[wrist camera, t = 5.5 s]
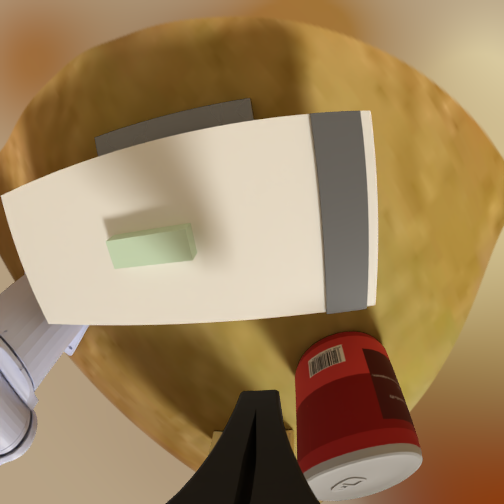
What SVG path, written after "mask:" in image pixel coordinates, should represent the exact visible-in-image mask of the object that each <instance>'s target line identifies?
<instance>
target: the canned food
mask: <svg viewBox="0 0 504 504" xmlns="http://www.w3.org/2000/svg"><path fill="white" fill-rule="evenodd" d="M295 388H296V419H297V462H298V464H299V466H300V468H301V471H302V473H303V474H304V476H305V478H306V480H307V482H308V484H309V486H310V488H311V489H312V491H313V493H314V495H315V496H316V498H317V499H318V500H322V501H340V500H348V499H355V498H360V497H364V496H367V495H371V494H374V493H377V492H380V491H382V490H385V489H388V488H390V487H392V486H394V485H396V484H398V483H400V482H401V481H403V480H405V479H406V478H408V477H409V476H410V475H411V474H413V473H414V472H415V471H416V470H417V469H418V468H419V466H420V465H421V463H422V453H421V448H420V445H419V442H418V437H417V434H416V431H415V428H414V425H413V422H412V419H411V416H410V413H409V410H408V408H407V405H406V402H405V399H404V396H403V394H402V391H401V388H400V386H399V383H398V380H397V378H396V375H395V372H394V370H393V367H392V365H391V362H390V360H389V357H388V355H387V352H386V350H385V348H384V347H383V346H382V345H381V343H380V342H379V341H377V340H376V339H375V338H374V337H372V336H371V335H368V334H365V333H362V332H342V333H337V334H334V335H331V336H328V337H326V338H324V339H322V340H320V341H318V342H317V343H315V344H314V345H312V346H311V347H310V348H309V349H308V350H307V351H306V352H305V353H304V355H303V356H302V357H301V359H300V362H299V364H298V367H297V369H296V374H295Z"/></svg>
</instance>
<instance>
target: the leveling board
mask: <svg viewBox="0 0 504 504" xmlns="http://www.w3.org/2000/svg"><path fill="white" fill-rule="evenodd" d="M1 199H2V203H3V206H4V210H5V214H6V217H7V221H8V224H9V227H10V231H11V234H12V237H13V240H14V243H15V246H16V249H17V252H18V255H19V257H20V260H21V263H22V265H23V268H24V270H25V273H26V275H27V278H28V280H29V283H30V285H31V287H32V290H33V292H34V294H35V297H36V299H37V301H38V303H39V305H40V307H41V310H42V312H43V314H44V316H45V318H46V320H47V322H48V324H67V325H160V324H187V323H207V322H224V321H238V320H251V319H263V318H274V317H284V316H294V315H303V314H312V313H321V312H326V313H327V314H332V313H340V312H348V311H355V310H362V309H367V306H372V305H375V302H376V286H377V263H378V199H377V176H376V161H375V148H374V137H373V128H372V119H371V111H341V112H324V113H311V114H302V115H292V116H283V117H275V118H267V119H259V120H252V121H246V122H239V123H233V124H227V125H222V126H216V127H211V128H206V129H201V130H196V131H191V132H187V133H182V134H178V135H174V136H169V137H165V138H161V139H157V140H153V141H149V142H146V143H142V144H138V145H135V146H131V147H128V148H124V149H121V150H118V151H114V152H111V153H108V154H105V155H102V156H99V157H96V158H93V159H90V160H87V161H84V162H81V163H78V164H75V165H73V166H70V167H67V168H64V169H62V170H59V171H57V172H54V173H51V174H49V175H46V176H44V177H42V178H39V179H37V180H34V181H32V182H30V183H27V184H25V185H23V186H21V187H18V188H16V189H14V190H12V191H10V192H8V193H5V194H3V195H1Z"/></svg>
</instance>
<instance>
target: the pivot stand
mask: <svg viewBox="0 0 504 504" xmlns="http://www.w3.org/2000/svg"><path fill="white" fill-rule="evenodd" d="M252 120H254V116H253V109H252V103H251V99H250V98H247V99H241V100H235V101H229V102H224V103H218V104H213V105H208V106H203V107H199V108H194V109H190V110H186V111H181V112H177V113H173V114H169V115H165V116H162V117H158V118H154V119H151V120H147V121H144V122H140V123H137V124H134V125H130V126H127V127H124V128H121V129H118V130H115V131H112V132H109V133H106V134H103V135H100V136H98V137H95V143H96V148H97V153H98V157H99V156H102V155H105V154H108V153H111V152H114V151H118V150H121V149H124V148H128V147H131V146H135V145H138V144H142V143H146V142H149V141H153V140H157V139H161V138H165V137H169V136H174V135H178V134H182V133H187V132H191V131H196V130H201V129H206V128H211V127H216V126H222V125H227V124H233V123H239V122H246V121H252Z"/></svg>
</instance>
